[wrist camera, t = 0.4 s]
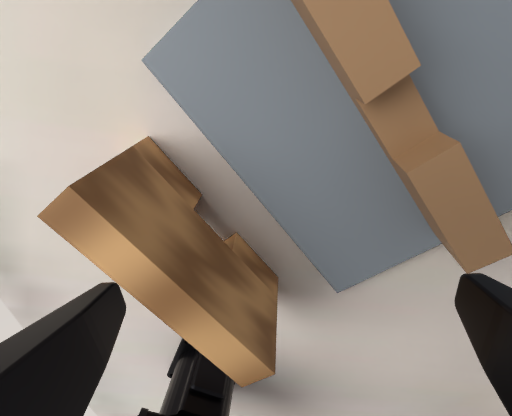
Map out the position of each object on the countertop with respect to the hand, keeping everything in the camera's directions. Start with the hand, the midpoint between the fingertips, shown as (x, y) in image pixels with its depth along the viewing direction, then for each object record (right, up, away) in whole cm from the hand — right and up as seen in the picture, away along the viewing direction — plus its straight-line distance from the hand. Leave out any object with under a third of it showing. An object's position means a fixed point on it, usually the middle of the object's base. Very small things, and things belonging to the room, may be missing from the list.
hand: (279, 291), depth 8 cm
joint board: (+6, +8, +9) cm, 14 cm away
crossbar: (-4, +1, +14) cm, 15 cm away
